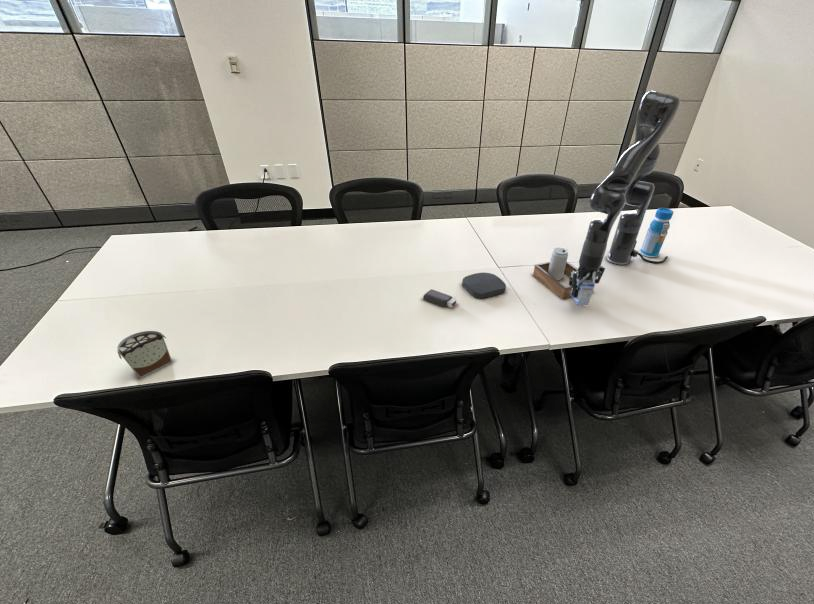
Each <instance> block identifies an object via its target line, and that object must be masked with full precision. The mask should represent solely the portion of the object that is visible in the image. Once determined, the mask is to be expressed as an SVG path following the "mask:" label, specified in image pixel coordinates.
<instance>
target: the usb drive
mask: <svg viewBox="0 0 814 604" xmlns="http://www.w3.org/2000/svg"><path fill="white" fill-rule="evenodd" d="M422 297H423V298H422V299H423V301H426V302H428V303H432V304H434V305H437V306H440V307H441V308H442V307H443V308H447V307H448V308H453V307H455V306H456V305H457V299H455V298H453V296H452V295H449V294H446V293H443V292H440V291H438V290H435V289H430V290H428V291H427V292H425V293H424V295H423V296H422Z"/></svg>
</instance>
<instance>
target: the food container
mask: <svg viewBox="0 0 814 604" xmlns="http://www.w3.org/2000/svg"><path fill="white" fill-rule="evenodd" d="M165 339H167V337H166V336H165V335H164V334H163V333H162V332H160V331H157V330H144V331H140V332H139V331H138V332H136V333H133V334H130V335H128V336H126V337H125V338H124V339H123V338H122V340H121V341H120V342H119V343H118V345H117V347H116V348H117V350H116V351H117V355H118V358H119V359H120V360H122V359H124V360H125V362H126V363H127V364H128V366H130V368H131V369H132V371H133V372H134V373H135V374H136V375H137V376H138V378H139V379H142V378H144V377H146V376H148V375H150V374H152V373H153V372H156V371H158V370H160V369H161V368H163V367H165V366H167V365H170V364H171V363H173V360H172V356H171V354H170V351H169V349H168V346H167V344H166V341H165Z"/></svg>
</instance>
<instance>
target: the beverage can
mask: <svg viewBox="0 0 814 604" xmlns="http://www.w3.org/2000/svg"><path fill="white" fill-rule="evenodd" d="M568 257H569V250H568V249H566V248H564V247H555V248H553V251H551V256H550V260H549V262H550V265H549V270H548V274H550V275H551V276H552V277H554V278H555V279H556V280H557V281H560V280H562V279H563V278H564V274H565V273H564V270H565V266H566V262H568Z"/></svg>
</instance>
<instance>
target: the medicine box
mask: <svg viewBox="0 0 814 604" xmlns="http://www.w3.org/2000/svg"><path fill="white" fill-rule="evenodd" d="M579 279H580V278H579ZM580 280H582V279H580ZM578 283H579V282H578ZM578 283H577V284H576V285H578ZM572 289H573V288H572ZM594 289H595V285H594V283H593V282H592V280H591V279H587V280H585V282H582V284H581V285H580V288H579V292H578V295H577V298H574V297H572V299H573V300H574V302H575V305H577V306H590V303H591V299H592V296H593V292H594ZM571 293H572V291H571ZM571 296H572V295H571Z"/></svg>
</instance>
